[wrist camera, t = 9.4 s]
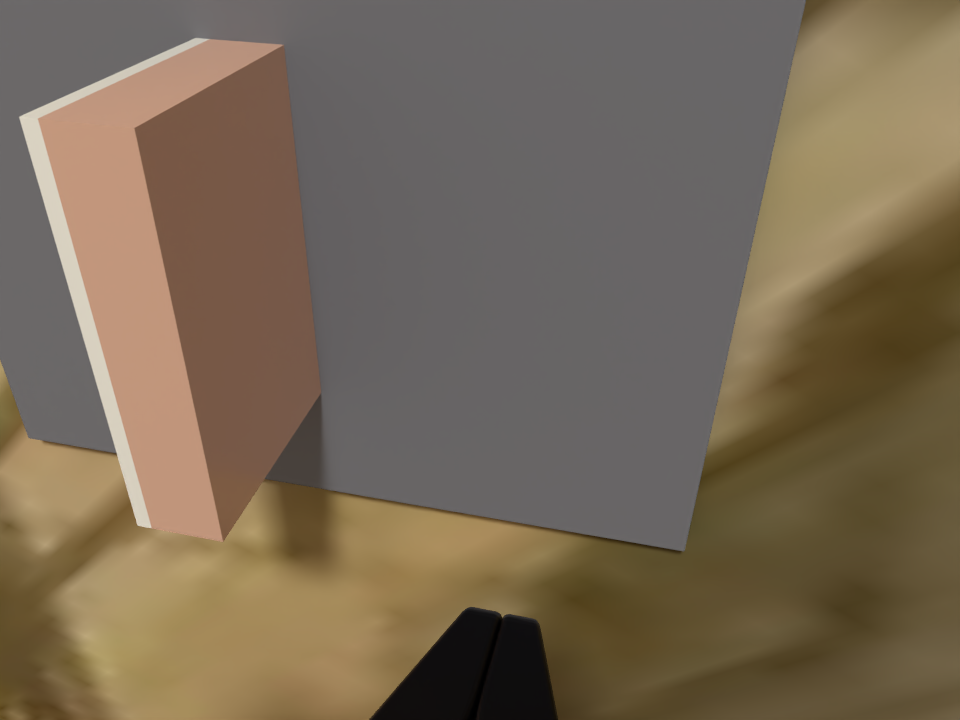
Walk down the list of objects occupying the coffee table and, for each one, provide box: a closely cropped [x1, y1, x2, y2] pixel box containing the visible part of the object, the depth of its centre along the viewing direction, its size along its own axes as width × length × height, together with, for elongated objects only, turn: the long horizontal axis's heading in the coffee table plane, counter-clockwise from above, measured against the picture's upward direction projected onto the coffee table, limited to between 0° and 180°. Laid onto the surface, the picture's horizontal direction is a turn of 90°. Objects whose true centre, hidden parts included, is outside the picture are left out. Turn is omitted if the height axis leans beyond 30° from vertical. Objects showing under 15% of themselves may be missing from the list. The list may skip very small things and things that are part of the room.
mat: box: [0, 0, 806, 551], centre depth 17 cm, size 18×16×1 cm
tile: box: [19, 38, 321, 542], centre depth 16 cm, size 2×8×5 cm, turn 177°
